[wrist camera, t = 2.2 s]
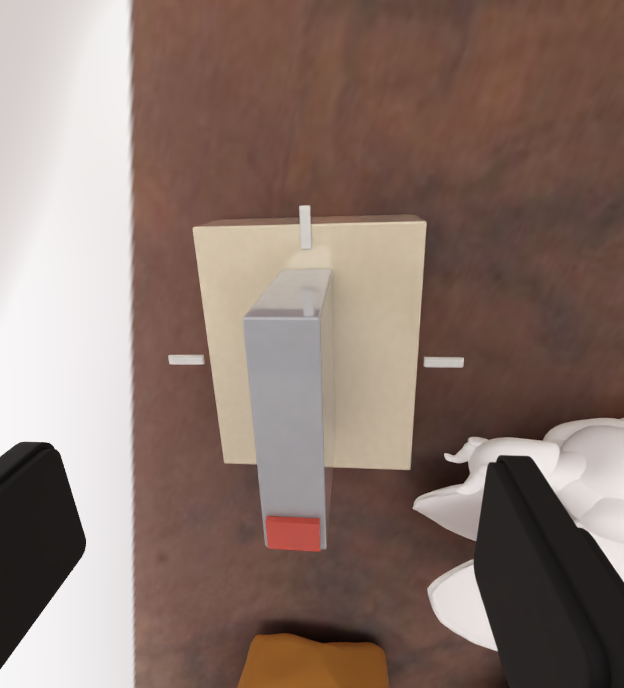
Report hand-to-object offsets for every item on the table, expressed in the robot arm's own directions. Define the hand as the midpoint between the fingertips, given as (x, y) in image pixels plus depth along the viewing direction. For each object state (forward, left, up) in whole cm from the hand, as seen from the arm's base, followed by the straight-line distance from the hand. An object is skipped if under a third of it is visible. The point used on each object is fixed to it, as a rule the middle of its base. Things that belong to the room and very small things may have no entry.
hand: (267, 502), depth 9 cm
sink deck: (0, 0, -10) cm, 10 cm away
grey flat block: (0, 0, -7) cm, 7 cm away
